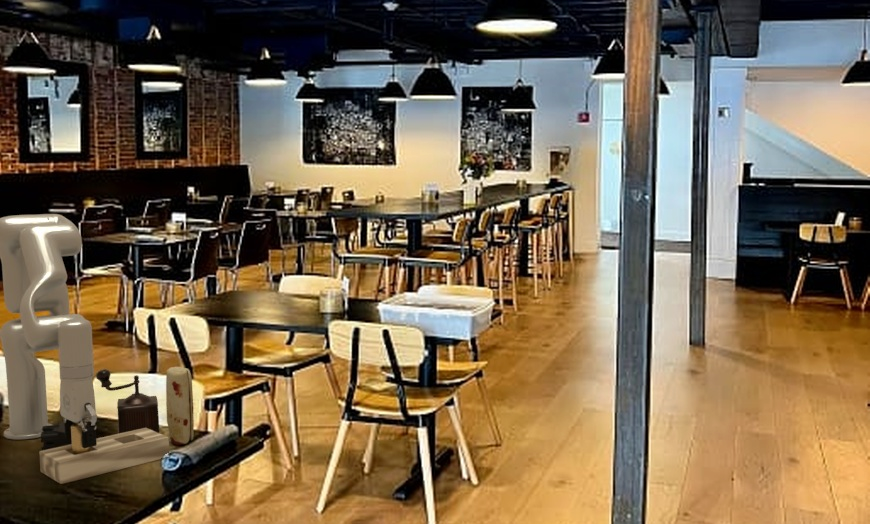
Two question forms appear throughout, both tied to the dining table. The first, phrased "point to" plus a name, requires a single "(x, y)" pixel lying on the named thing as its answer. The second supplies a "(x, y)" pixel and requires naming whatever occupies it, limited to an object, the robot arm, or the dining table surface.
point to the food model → (179, 405)
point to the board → (104, 455)
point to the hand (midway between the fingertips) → (80, 442)
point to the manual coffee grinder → (133, 406)
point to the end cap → (54, 436)
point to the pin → (77, 439)
